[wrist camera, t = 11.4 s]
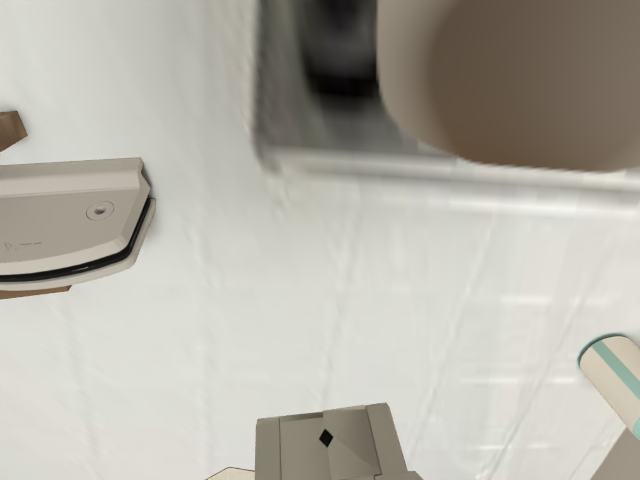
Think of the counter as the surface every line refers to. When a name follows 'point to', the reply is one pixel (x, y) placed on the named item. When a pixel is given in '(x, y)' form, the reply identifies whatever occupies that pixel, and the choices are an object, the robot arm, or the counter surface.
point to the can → (616, 377)
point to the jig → (3, 134)
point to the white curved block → (71, 221)
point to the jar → (234, 475)
